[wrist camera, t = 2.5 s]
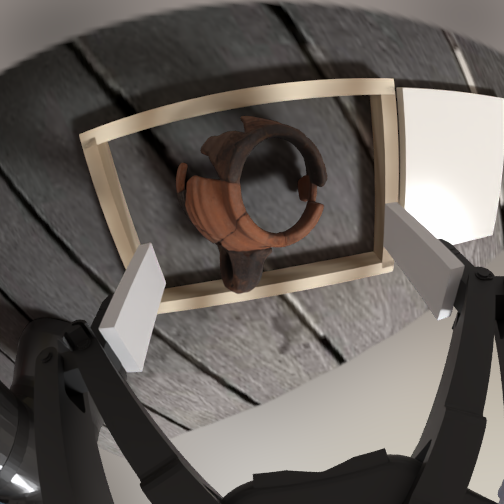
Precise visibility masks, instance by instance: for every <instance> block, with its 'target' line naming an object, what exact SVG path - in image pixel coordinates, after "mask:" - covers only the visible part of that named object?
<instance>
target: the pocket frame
mask: <svg viewBox="0 0 504 504" xmlns="http://www.w3.org/2000/svg"><path fill="white" fill-rule="evenodd" d="M346 95H370V105H371V117H372V130H373V147H374V174H375V223H374V250H373V251H372V252H367V253H362V254H357V255H352V256H346V257H341V258H336V259H331V260H326V261H320V262H315V263H310V264H304V265H299V266H293V267H288V268H283V269H277V270H272V271H266V272H263V273H262V277H261V280H260V282H259V284H258V285H257V286H256V287H255V288H254V289H253V290H251V291H250V292H246V293H245V292H244V293H242V294H236V293H235V292H232V291H230V290H229V289H227V288H226V287H225V286H224V284H223V281H222V279H220V280H214V281H208V282H202V283H196V284H190V285H184V286H178V287H172V288H166V289H164V291H163V295H162V298H161V302H160V305H159V309H158V312H157V314H161V313H168V312H176V311H182V310H189V309H196V308H203V307H209V306H216V305H222V304H228V303H234V302H240V301H246V300H252V299H258V298H263V297H269V296H275V295H280V294H286V293H291V292H296V291H301V290H307V289H312V288H317V287H322V286H327V285H332V284H337V283H342V282H346V281H351V280H356V279H360V278H365V277H370V276H374V275H379V274H383V273H388V272H392V271H393V265H394V259H393V258H392V257H391V255H390V254H389V253H388V251H387V250H386V249H385V248H384V246H383V242H384V223H385V204H386V203H393V202H397V203H398V184H399V155H398V126H397V110H396V97H395V87H394V79H387V78H353V79H328V80H313V81H301V82H290V83H281V84H273V85H266V86H258V87H252V88H245V89H239V90H234V91H228V92H223V93H218V94H213V95H208V96H203V97H199V98H194V99H190V100H186V101H182V102H178V103H174V104H170V105H166V106H162V107H159V108H155V109H152V110H148V111H145V112H142V113H138V114H135V115H132V116H129V117H126V118H123V119H120V120H117V121H114V122H111V123H108V124H105V125H102V126H100V127H97V128H94V129H92V130H89V131H86V132H84V133H81V134H79V136H80V140H81V144H82V147H83V151H84V154H85V158H86V161H87V165H88V168H89V171H90V174H91V177H92V181H93V184H94V187H95V190H96V193H97V196H98V199H99V201H100V204H101V207H102V210H103V213H104V216H105V218H106V221H107V224H108V226H109V229H110V232H111V234H112V237H113V239H114V242H115V244H116V247H117V249H118V252H119V254H120V257H121V259H122V261H123V264H124V266H125V269H127V267H128V265H129V263H130V261H131V259H132V257H133V255H134V254H135V252H136V250H137V248H138V246H139V245H141V244H140V241H139V239H138V236H137V233H136V230H135V228H134V225H133V222H132V219H131V216H130V213H129V210H128V207H127V204H126V201H125V198H124V195H123V192H122V189H121V185H120V182H119V179H118V176H117V172H116V169H115V166H114V162H113V159H112V155H111V152H110V148H109V144H108V141H109V140H112V139H115V138H118V137H122V136H125V135H128V134H131V133H134V132H138V131H141V130H145V129H148V128H151V127H155V126H159V125H162V124H166V123H170V122H174V121H178V120H182V119H186V118H190V117H195V116H199V115H204V114H208V113H213V112H218V111H223V110H229V109H234V108H240V107H245V106H251V105H258V104H265V103H272V102H279V101H287V100H296V99H306V98H316V97H329V96H346Z"/></svg>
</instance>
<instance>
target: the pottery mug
mask: <svg viewBox="0 0 504 504" xmlns="http://www.w3.org/2000/svg"><path fill="white" fill-rule="evenodd" d="M240 119H241V121H242V122H243V123H244V128H245V132H244V133H242V132H238V131H229V132H225V133H223V134H221V135H219V136H211V137H209V138H208V139H207V141H206V142H205V143H204V144H203V146H202V147H201V153H202V154H204V155H207V156H209V159H210V161H211V163H212V164H213V165H214V167H215V169H216V171H217V173H218V175H219V177H220V179H208V178H203V177H200V176H197V175H194V176H192V177H191V178H190V179H189V180H188V181H187V190H185V189H184V187H185V177H186V172H187V168H188V165H187V164H186V163H181V164H180V165H179V167H178V170H177V175H176V189H177V197H178V201H179V203H180V205H181V207H182V208H183V209H184V211H185V213H186V215H187V216H188V217H189V219H190V220H191V222H192V223H193V225H194V226H195V227H196V228H197V230H198V231H199V232H200V233H201V234H202V235H203V236H204V237H205V238H206V239H208V240H209V241H210V242H212V243H215V244H216V245H217V246H218V249H219V252H220V271H221V277H222V281H223V284H224V286H225V287H226V288H227V289H229V290H230V291H232V292H235V293H236V294H242V293H244V292H245V293H246V292H250V291H251V290H253V289H254V288H255V287H256V286H257V285H258V284H259V282H260V280H261V277H262V273H263V265H264V262H265V260H266V258H267V257H268V255H269V254H270V253H272V248H271V247H285V246H288V245H291V244H294V243H296V242H297V241H299V240H301V239H302V238H304V237H305V236H306V235H307V234H309V232H310V231H311V230H312V229H313V228H314V226H315V225H316V224H317V222H318V220H319V218H320V216H321V214H322V211H323V207H324V205H323V204H320V203H316V202H315V200H316V194H317V186H319V187H322V186H324V184H325V183H326V181H327V173H326V168H325V164H324V162H323V159H322V156H321V154H320V152H319V150H318V149H317V147H316V146H315V144H314V143H313V142H312V141H311V140H310V139H309V138H307V137H306V135H305V134H304V133H302V132H301V131H300V130H298V129H295V128H293V127H291V126H289V125H285V124H281V123H279V122H276V121H272V120H267V119H262V118H257V117H252V116H241V118H240ZM268 138H282V139H285V140H287V141H289V142H290V143H292V144H293V145H294V146H295V147H296V148H297V149H298V150H299V151H300V153H301V154H302V156H303V158H304V161H305V166H306V173H307V174H306V176H303V177H302V178H301V179H299V181H298V192H299V198H300V200H301V201H308V202H307V205H306V208H305V210H304V213H303V214H302V216H301V218H300V219H299V221H298V222H297V223H296V224H295V225H294V226H293V227H291V228H290V229H288V230H286V231H284V232H279V233H271V232H267V231H265V230H263V229H261V228H260V227H258V226H257V225H256V224H255V223H254V222H253V221H252V219H251V218H250V216H249V215H248V213H247V212H246V209H245V206H244V204H243V200H242V195H241V186H240V177H241V173H242V169H243V165H244V163H245V160H246V158H247V157H248V155H249V154H250V152H251V151H252V150H253V149H254V147H255V146H256V145H258V144H259V143H260V142H262V141H263V140H265V139H268Z"/></svg>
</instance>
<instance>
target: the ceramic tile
mask: <svg viewBox="0 0 504 504" xmlns="http://www.w3.org/2000/svg"><path fill="white" fill-rule="evenodd" d="M396 91H397V103H398V117H399V137H400V200H399V204H400V205H401V206H402V207H403V208H404V209H405V210H407V211H408V212H409V213H410V214H411V215H412V216H413V217H415V218H416V219H417V220H418V221H419V222H420V223H421V224H422V225H423V226H424V227H426V228H427V229H428V230H429V231H430V232H431V233H432V234H433V235H434V236H435V237H436V238H437V239H440V238H442V239H444V240H446V241H448V242H450V243H451V244H452V245H453V244H458V243H462V242H466V241H470V240H474V239H478V238H482V237H486V236H490V235H493V230H494V225H495V220H496V214H497V208H498V202H499V195H500V188H501V180H502V170H503V158H504V99H503V98H499V97H493V96H488V95H481V94H474V93H467V92H459V91H449V90H438V89H425V88H404V87H396Z"/></svg>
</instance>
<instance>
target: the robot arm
mask: <svg viewBox="0 0 504 504" xmlns="http://www.w3.org/2000/svg"><path fill="white" fill-rule="evenodd" d="M383 246H384V248H385V249H386V250H387V251H388V253H389V254H390V255H391V257H392V258H393V259H394V261H395V262H396V263H397V264H398V266H399V267H400V268H401V270H402V271H403V272H404V274H405V275H406V276H407V278H408V279H409V280H410V282H411V283H412V285H413V286H414V287H415V289H416V290H417V292H418V293H419V294H420V296H421V297H422V299H423V300H424V301H425V303H426V304H427V306H428V307H429V309H430V310H431V311H432V313H433V315H434V316H435V317H436V319H437V320H440V319H443V318H446V317H449V316H450V315H451V312H452V309H453V306H454V307H455V308H456V309H457V311H458V312H457V316H456V318H455V321H454V324H453V327H452V329H453V334H452V339H451V343H450V348H449V352H448V356H447V360H446V364H445V367H444V371H443V375H442V378H441V382H440V385H439V388H438V392H437V394H436V397H435V401H434V404H433V406H432V410H431V412H430V415H429V418H428V421H427V423H426V426H425V428H424V431H423V433H422V436H421V438H420V441H419V443H418V445H417V447H416V449H415V450H414V452H413V454H412V456H411V457H407V456H403V455H391V454H390V455H387V453H386V450H385V448H384V449H381V450H377V451H374V452H371V453H367V454H363V455H360V456H356V457H353V458H351V459H349V460H347V461H345V462H343V463H341V464H339V465H337V466H335V467H333V468H330V469H328V470H326V471H323V472H303V471H288V470H286V471H277V472H269V473H260V474H253V481H250V482H247V483H245V484H243V485H240V486H239V487H237V488H235V489H234V490H232V491H231V492H229V493H228V494H227V495H226V496H225V497H222V496H221V495H220V494H219V493H218V492H217V491H216V490H215V489H214V488H212V487H211V486H210V485H209V484H208V483H207V482H206V481H205V480H204V479H203V478H202V477H201V476H200V474H199V473H198V472H197V471H196V470H195V469H194V468H193V467H192V466H191V465H190V464H189V462H188V461H187V460H186V459H185V458H184V457H183V456H182V454H181V453H180V452H179V451H178V450H177V449H176V447H175V446H174V445H173V444H172V443H171V441H170V440H169V439H168V438H167V436H166V435H165V434H164V433H163V431H162V430H161V429H160V428H159V426H158V425H157V424H156V422H155V421H154V420H153V418H152V417H151V416H150V414H149V413H148V412H147V410H146V409H145V408H144V406H143V405H142V403H141V402H140V401H139V399H138V398H137V396H136V395H135V394H134V392H133V391H132V389H131V388H130V386H129V385H128V383H127V382H126V380H127V376H126V371H127V372H142V369H143V365H144V361H145V357H146V353H147V349H148V345H149V342H150V338H151V334H152V330H153V327H154V323H155V319H156V316H157V312H158V309H159V305H160V302H161V298H162V295H163V291H164V288H165V285H166V281H165V279H164V276H163V274H162V271H161V268H160V266H159V263H158V260H157V258H156V255H155V252H154V249H153V247H152V244H151V243H148V244H143V245H139V246H138V248H137V250H136V252H135V254H134V255H133V257H132V259H131V261H130V263H129V265H128V267H127V269H126V271H125V273H124V275H123V277H122V279H121V281H120V283H119V285H118V287H117V289H116V291H115V293H114V295H109V296H108V297H107V298H106V299H105V300H104V301H103V302H102V304H101V306H100V308H99V311H98V312H97V314H96V317H95V319H94V321H93V323H92V325H91V327H89V325H88V323H87V322H86V321H85V320H76V321H74V322H71V323H67V322H65V321H61V320H57V319H50V318H41V319H36V320H34V321H32V322H30V323H29V324H28V325H27V326H26V328H25V330H24V331H23V333H22V335H21V336H20V338H19V341H18V348H17V355H16V361H15V367H14V375H13V382H12V385H11V387H10V390H9V389H8V388H7V387H6V386H5V385H4V384H3V383H2V382H1V381H0V504H114V502H113V499H112V496H111V493H110V490H109V486H108V483H107V480H106V476H105V473H104V469H103V466H102V462H101V458H100V454H99V450H98V445H97V441H98V436H99V432H100V429H101V427H102V425H103V424H104V422H105V424H106V426H107V427H108V429H109V431H110V433H111V435H112V436H113V438H114V440H115V441H116V443H117V445H118V446H119V448H120V450H121V451H122V453H123V455H124V456H125V458H126V459H127V461H128V462H129V464H130V465H131V467H132V468H133V470H134V471H135V473H136V474H137V476H138V477H139V479H140V481H141V483H140V487H141V489H142V491H143V492H144V493H145V495H146V496H147V498H148V499H149V500H150V502H151V503H152V504H504V480H503V482H502V486H501V487H500V488H499V490H498V497H499V498H500V501H499V503H496V502H494V501H492V500H490V499H488V498H486V497H483V496H482V495H480V494H478V493H476V492H474V491H472V490H470V489H468V488H467V487H468V485H469V482H470V479H471V476H472V473H473V470H474V467H475V464H476V461H477V458H478V454H479V451H480V447H481V444H482V440H483V436H484V432H485V428H486V421H487V420H486V417H483V410H484V405H485V400H486V395H487V389H488V383H489V377H490V369H491V361H492V352H493V341H494V335H495V341H496V346H497V352H498V358H499V365H500V372H501V381H502V390H503V401H504V276H494V274H493V273H492V272H491V271H489V270H488V269H486V268H483V267H474V266H473V265H472V264H471V263H470V262H469V261H468V260H467V259H466V258H465V257H464V256H463V255H462V254H460V252H459V251H458V250H457V249H456V248H455V247H454V246H453V245H452V244H451V243H450V242H448V241H446V240H444V239H442V238H440V239H437V238H436V237H435V236H434V235H433V234H432V233H431V232H430V231H429V230H428V229H427V228H426V227H424V226H423V225H422V224H421V223H420V222H419V221H418V220H417V219H416V218H415V217H413V216H412V215H411V214H410V213H409V212H408V211H407V210H405V209H404V208H403V207H402V206H401V205H400V204H398V203H397V202H393V203H386V204H385V223H384V242H383ZM125 370H126V371H125ZM503 403H504V402H503Z"/></svg>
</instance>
